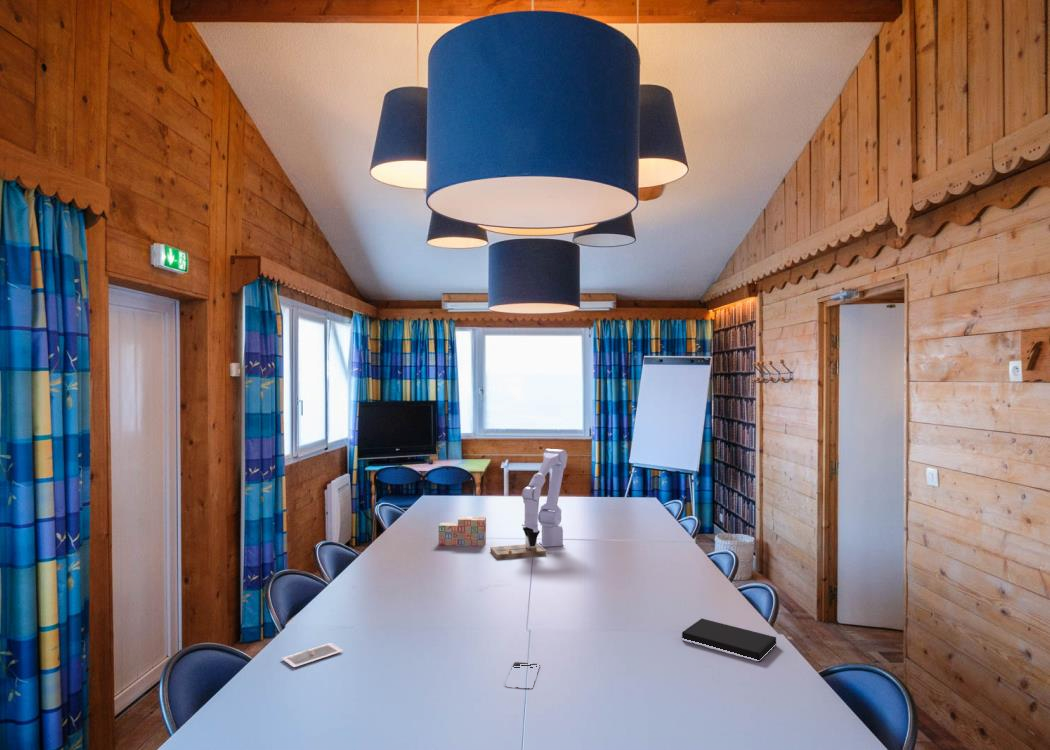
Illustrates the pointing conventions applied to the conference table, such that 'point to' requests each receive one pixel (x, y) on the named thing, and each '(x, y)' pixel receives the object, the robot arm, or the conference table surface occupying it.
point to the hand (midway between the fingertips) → (531, 544)
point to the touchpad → (312, 654)
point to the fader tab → (529, 543)
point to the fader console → (516, 551)
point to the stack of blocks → (463, 532)
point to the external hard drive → (730, 638)
